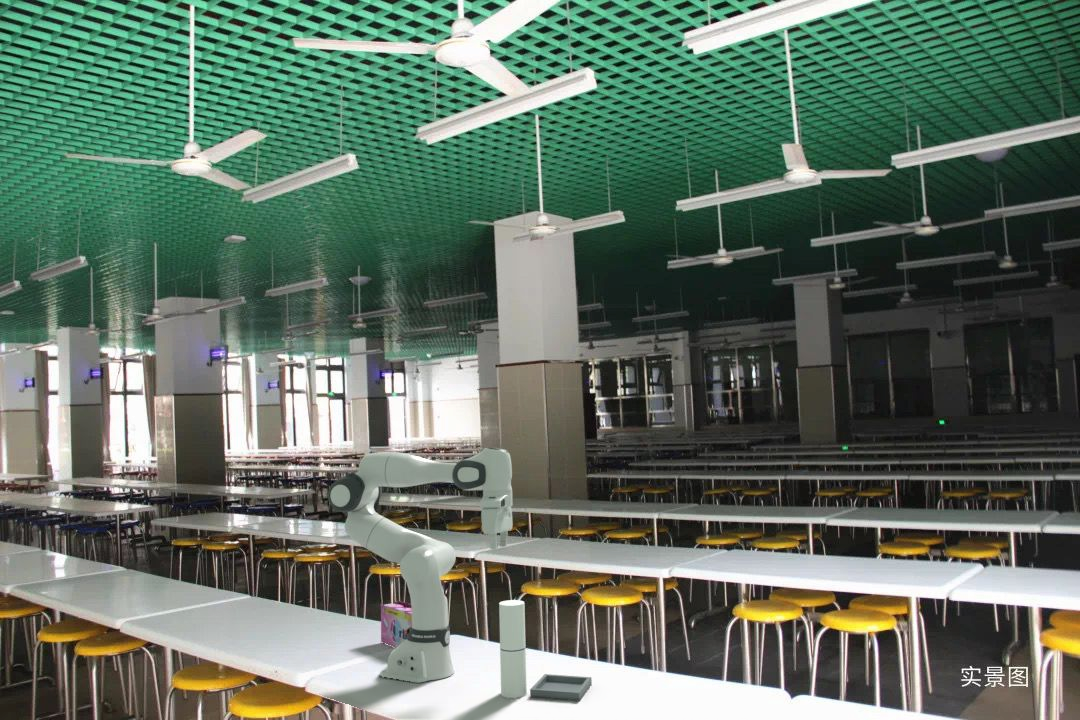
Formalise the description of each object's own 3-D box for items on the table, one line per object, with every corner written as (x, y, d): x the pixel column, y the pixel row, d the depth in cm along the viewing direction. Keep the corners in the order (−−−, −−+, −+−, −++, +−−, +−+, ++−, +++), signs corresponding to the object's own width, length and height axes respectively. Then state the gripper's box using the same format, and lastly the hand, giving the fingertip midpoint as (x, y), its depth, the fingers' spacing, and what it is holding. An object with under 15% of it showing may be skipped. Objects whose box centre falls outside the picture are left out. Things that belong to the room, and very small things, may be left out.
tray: (530, 697, 225) (530, 689, 225) (545, 681, 238) (544, 674, 238) (579, 701, 221) (579, 692, 221) (591, 685, 234) (591, 677, 234)
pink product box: (378, 642, 287) (377, 603, 288) (398, 638, 292) (397, 599, 293) (413, 656, 268) (413, 614, 269) (434, 651, 273) (433, 610, 275)
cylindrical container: (506, 699, 224) (504, 606, 225) (497, 692, 230) (495, 601, 232) (530, 695, 226) (528, 603, 228) (520, 688, 233) (518, 599, 235)
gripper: (497, 500, 257) (498, 545, 255) (477, 502, 237) (478, 550, 235) (517, 499, 256) (517, 544, 254) (498, 501, 236) (499, 550, 234)
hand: (498, 547), depth 244 cm, fingers open, 8 cm apart
